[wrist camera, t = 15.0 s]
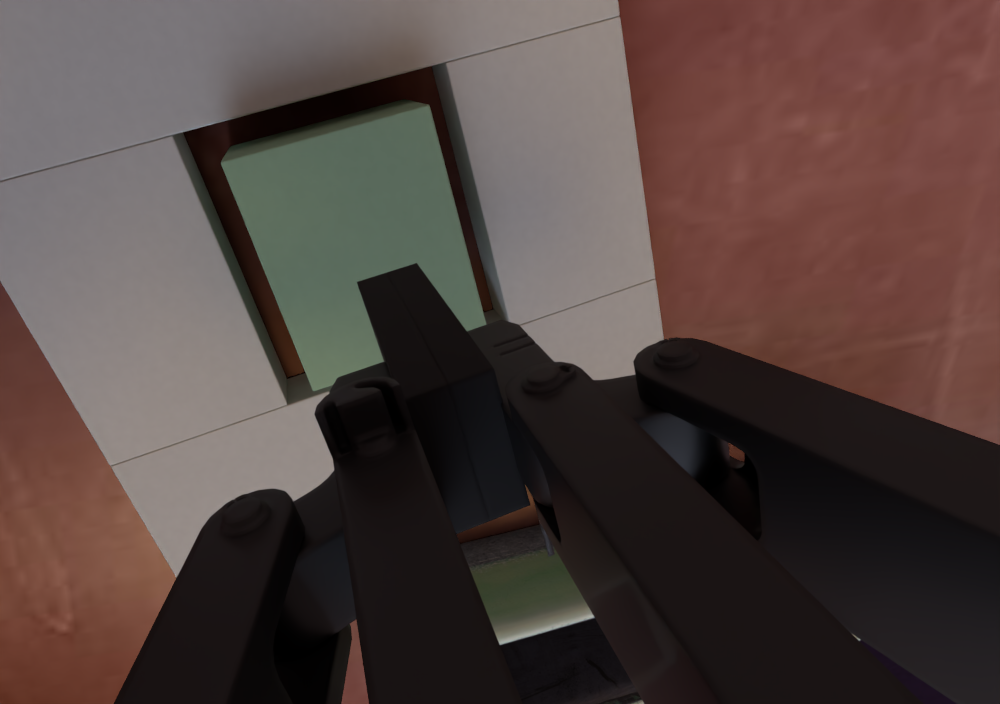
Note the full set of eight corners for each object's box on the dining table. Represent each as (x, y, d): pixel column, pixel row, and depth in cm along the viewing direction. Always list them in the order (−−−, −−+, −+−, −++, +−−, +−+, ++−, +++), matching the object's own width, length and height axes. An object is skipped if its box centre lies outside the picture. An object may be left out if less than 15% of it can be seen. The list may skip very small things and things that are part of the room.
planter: (373, 662, 34) (395, 796, 28) (353, 548, 32) (372, 669, 25) (826, 537, 41) (927, 622, 35) (843, 434, 38) (956, 506, 32)
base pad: (-136, -22, 20) (-188, -34, 17) (562, -170, 23) (592, -194, 21) (188, 548, 29) (181, 587, 27) (646, 378, 33) (672, 400, 31)
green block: (229, 146, 24) (219, 161, 20) (405, 98, 25) (429, 104, 21) (307, 345, 27) (313, 392, 23) (459, 295, 29) (488, 332, 25)
